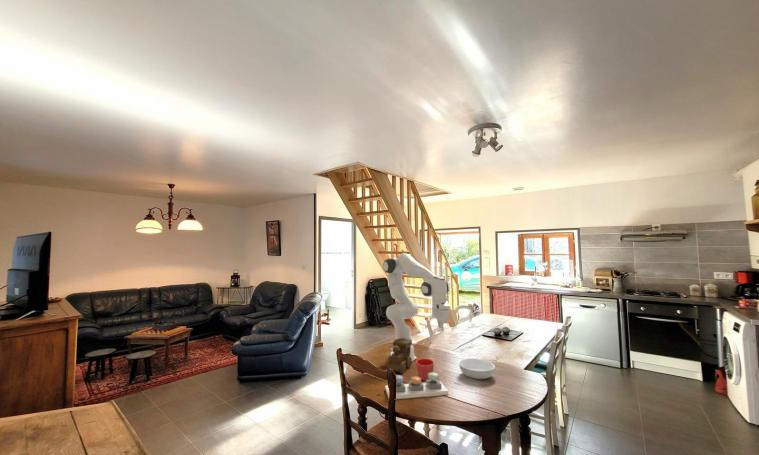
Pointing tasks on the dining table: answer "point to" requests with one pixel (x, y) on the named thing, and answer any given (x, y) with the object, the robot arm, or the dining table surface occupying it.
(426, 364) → the flower pot
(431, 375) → the sage button
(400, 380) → the slate button
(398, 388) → the console
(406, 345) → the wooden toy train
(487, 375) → the serving bowl
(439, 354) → the dining table surface
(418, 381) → the rust button
